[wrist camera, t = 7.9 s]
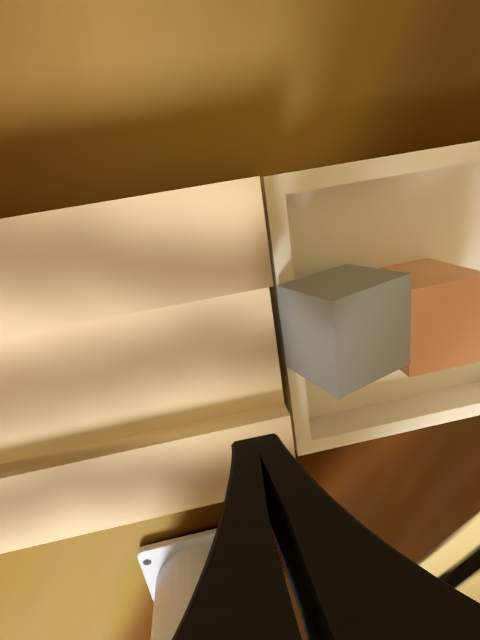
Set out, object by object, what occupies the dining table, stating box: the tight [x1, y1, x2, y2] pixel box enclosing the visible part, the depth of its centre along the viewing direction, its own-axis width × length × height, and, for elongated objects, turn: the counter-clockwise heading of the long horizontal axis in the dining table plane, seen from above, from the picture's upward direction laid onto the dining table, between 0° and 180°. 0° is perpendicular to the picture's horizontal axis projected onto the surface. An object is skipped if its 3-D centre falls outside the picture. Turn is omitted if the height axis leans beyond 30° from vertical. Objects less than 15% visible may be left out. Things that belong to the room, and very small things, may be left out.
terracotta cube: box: [379, 258, 480, 377], centre depth 17 cm, size 4×4×4 cm
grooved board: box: [0, 176, 296, 554], centre depth 16 cm, size 14×16×4 cm
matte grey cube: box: [276, 264, 411, 399], centre depth 15 cm, size 4×4×4 cm
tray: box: [260, 141, 480, 456], centre depth 18 cm, size 14×13×2 cm
